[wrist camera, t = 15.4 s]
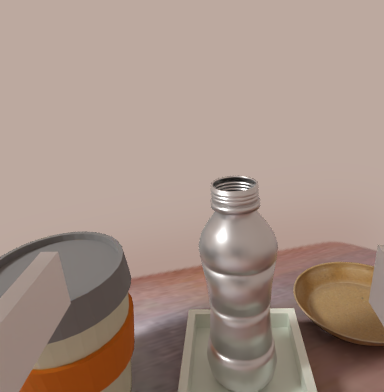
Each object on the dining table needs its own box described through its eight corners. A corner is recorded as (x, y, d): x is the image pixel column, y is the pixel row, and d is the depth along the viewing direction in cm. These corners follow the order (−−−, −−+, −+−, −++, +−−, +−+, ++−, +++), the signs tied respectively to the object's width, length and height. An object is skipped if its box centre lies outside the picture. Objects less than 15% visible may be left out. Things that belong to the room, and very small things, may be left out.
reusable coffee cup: (163, 348, 39) (145, 231, 33) (121, 469, 28) (83, 323, 22) (65, 338, 42) (33, 229, 36) (-11, 446, 30) (-74, 310, 25)
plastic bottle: (239, 337, 38) (231, 165, 31) (291, 375, 33) (296, 180, 26) (195, 372, 34) (174, 185, 27) (245, 420, 29) (236, 208, 22)
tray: (176, 454, 28) (172, 429, 27) (191, 329, 41) (188, 309, 40) (326, 459, 27) (329, 433, 26) (293, 328, 40) (293, 308, 39)
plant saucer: (299, 270, 51) (300, 254, 50) (415, 286, 45) (418, 269, 44) (285, 343, 39) (285, 324, 38) (442, 378, 33) (447, 357, 32)
